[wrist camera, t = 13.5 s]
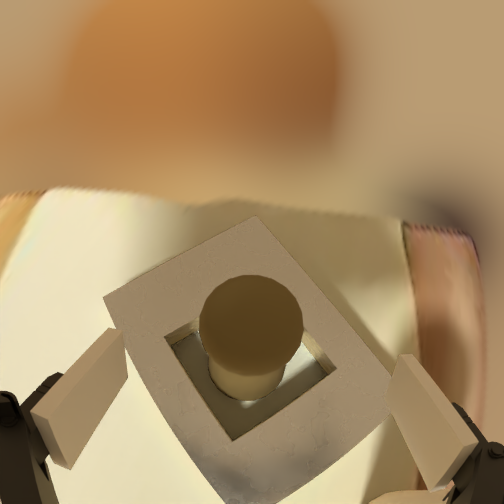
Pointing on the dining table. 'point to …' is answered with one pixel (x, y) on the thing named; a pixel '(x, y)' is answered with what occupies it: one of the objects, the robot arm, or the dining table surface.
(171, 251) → the dining table surface
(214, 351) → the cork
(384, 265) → the dining table surface
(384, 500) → the foam cup
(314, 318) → the plate
